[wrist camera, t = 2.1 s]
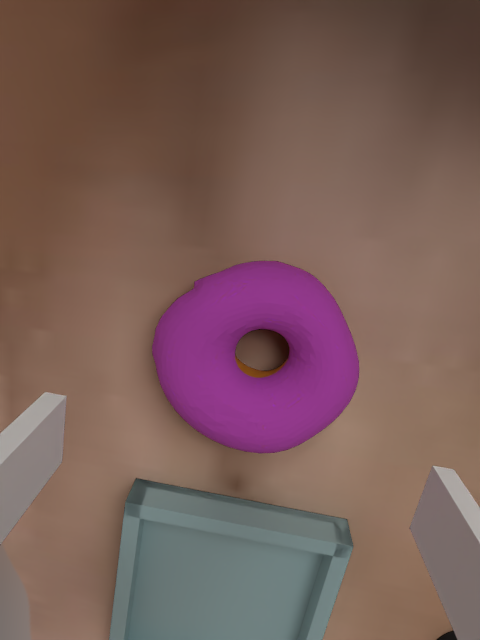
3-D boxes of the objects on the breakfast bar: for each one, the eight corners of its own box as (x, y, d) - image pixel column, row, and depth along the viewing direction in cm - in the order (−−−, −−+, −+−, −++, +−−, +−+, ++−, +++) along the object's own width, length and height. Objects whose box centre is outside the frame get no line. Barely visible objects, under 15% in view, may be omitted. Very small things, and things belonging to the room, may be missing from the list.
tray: (136, 478, 28) (125, 502, 26) (347, 519, 28) (353, 546, 26) (115, 640, 33) (105, 671, 31) (296, 675, 33) (298, 709, 31)
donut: (374, 380, 25) (396, 422, 21) (225, 446, 27) (216, 497, 23) (294, 221, 23) (300, 231, 18) (136, 307, 25) (108, 335, 20)
